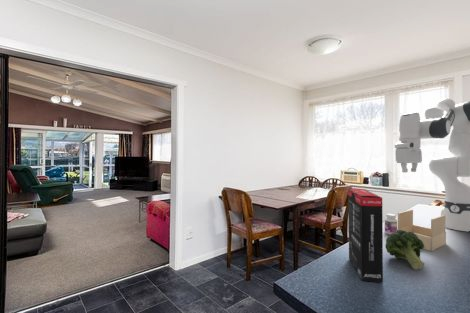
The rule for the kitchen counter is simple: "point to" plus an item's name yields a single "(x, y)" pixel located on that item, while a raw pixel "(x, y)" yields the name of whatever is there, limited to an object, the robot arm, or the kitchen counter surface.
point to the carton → (424, 230)
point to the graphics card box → (366, 234)
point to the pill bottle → (390, 224)
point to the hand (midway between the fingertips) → (409, 172)
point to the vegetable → (405, 247)
